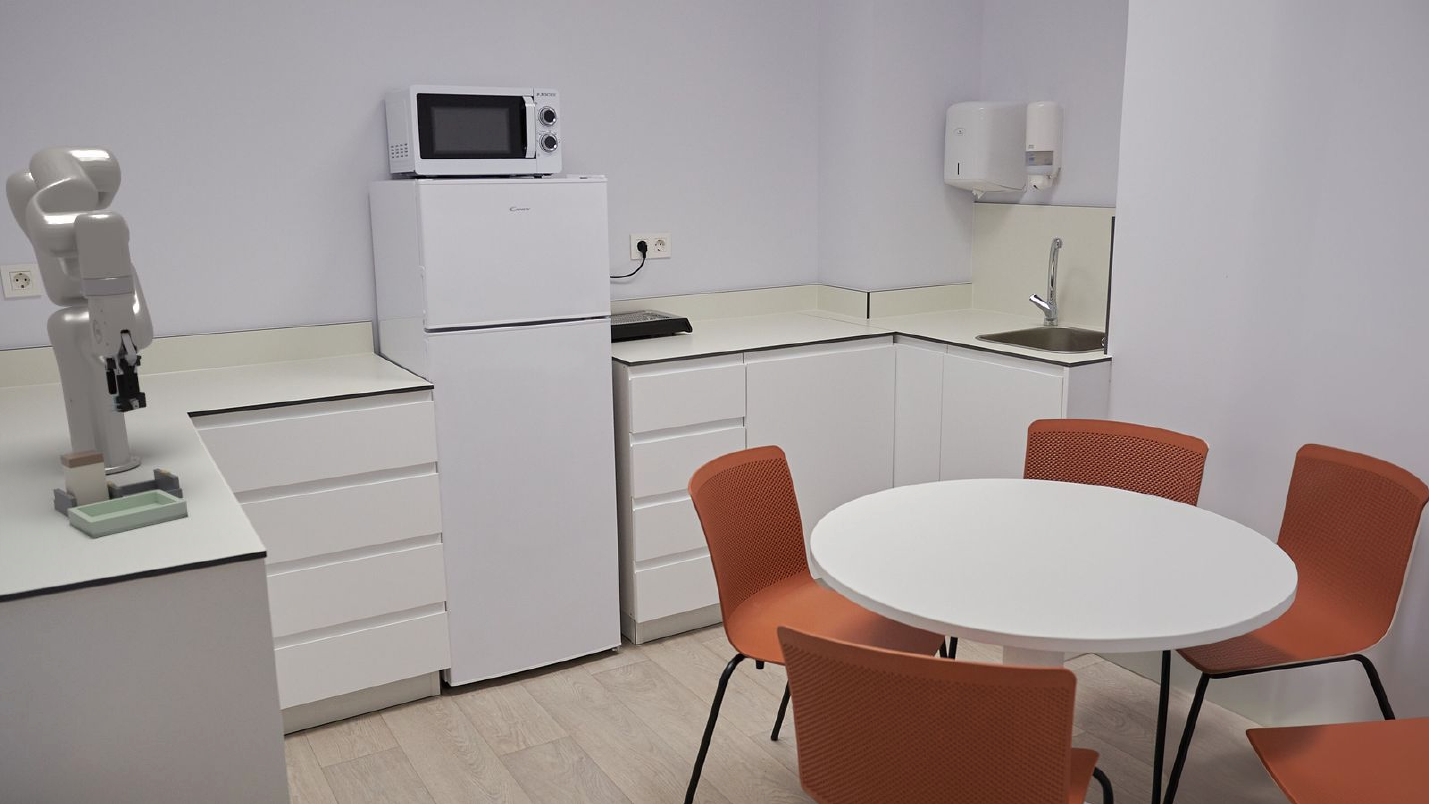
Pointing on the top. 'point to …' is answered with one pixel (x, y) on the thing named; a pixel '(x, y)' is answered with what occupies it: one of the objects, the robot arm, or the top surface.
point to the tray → (127, 513)
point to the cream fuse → (85, 477)
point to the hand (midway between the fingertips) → (124, 393)
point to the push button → (130, 402)
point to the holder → (125, 490)
